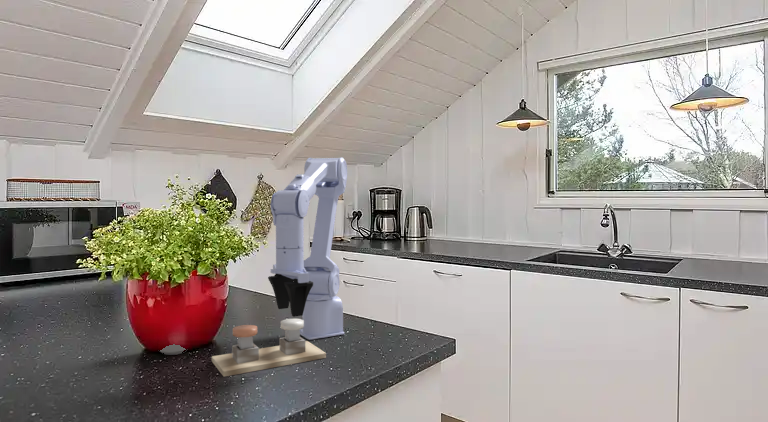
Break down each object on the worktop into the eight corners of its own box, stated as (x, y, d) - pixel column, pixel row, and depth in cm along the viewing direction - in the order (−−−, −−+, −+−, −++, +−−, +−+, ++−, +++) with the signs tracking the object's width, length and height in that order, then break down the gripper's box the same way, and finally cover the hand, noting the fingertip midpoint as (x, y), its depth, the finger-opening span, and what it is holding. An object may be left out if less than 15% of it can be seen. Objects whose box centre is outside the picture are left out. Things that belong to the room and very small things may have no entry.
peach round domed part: (253, 341, 106) (253, 323, 105) (260, 347, 101) (260, 329, 101) (230, 345, 103) (229, 326, 103) (236, 351, 99) (236, 332, 99)
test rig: (307, 345, 115) (307, 329, 114) (326, 357, 106) (325, 341, 106) (211, 361, 104) (211, 344, 104) (223, 376, 95) (223, 358, 95)
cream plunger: (298, 334, 111) (298, 317, 111) (307, 340, 107) (307, 322, 106) (277, 338, 108) (277, 320, 108) (285, 343, 104) (285, 325, 104)
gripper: (259, 245, 110) (259, 307, 110) (284, 252, 98) (285, 322, 98) (290, 243, 114) (290, 303, 114) (318, 250, 101) (318, 317, 102)
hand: (290, 312), depth 106 cm, fingers open, 7 cm apart
